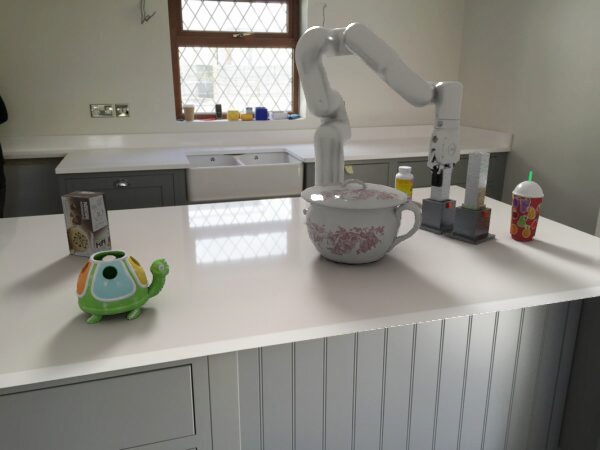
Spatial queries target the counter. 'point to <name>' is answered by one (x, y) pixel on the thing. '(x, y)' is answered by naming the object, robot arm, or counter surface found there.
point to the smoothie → (525, 210)
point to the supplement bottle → (404, 181)
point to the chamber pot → (356, 220)
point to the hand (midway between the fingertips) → (440, 184)
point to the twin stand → (474, 204)
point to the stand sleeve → (438, 216)
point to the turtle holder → (117, 285)
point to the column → (442, 187)
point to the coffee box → (86, 222)
